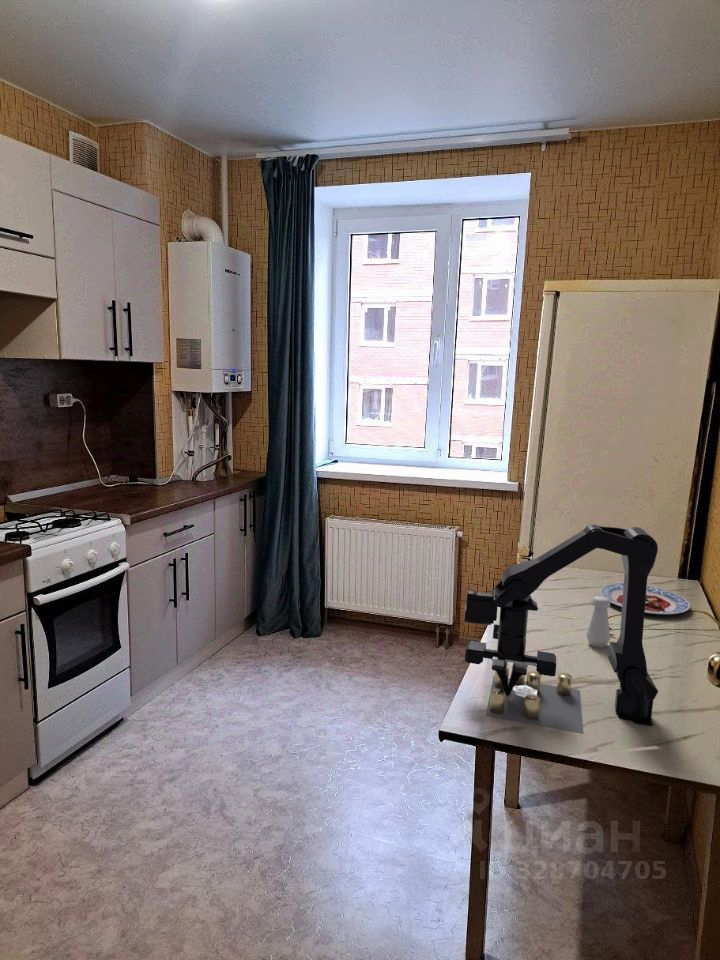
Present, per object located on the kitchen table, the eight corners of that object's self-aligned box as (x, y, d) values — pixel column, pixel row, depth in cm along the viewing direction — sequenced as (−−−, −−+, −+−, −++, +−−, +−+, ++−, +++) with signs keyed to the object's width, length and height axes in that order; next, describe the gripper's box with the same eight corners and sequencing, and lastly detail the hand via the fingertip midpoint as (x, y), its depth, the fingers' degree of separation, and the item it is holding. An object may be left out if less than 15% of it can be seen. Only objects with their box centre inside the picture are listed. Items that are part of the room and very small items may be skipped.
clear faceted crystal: (530, 694, 137) (531, 684, 137) (542, 706, 132) (542, 696, 132) (506, 697, 136) (507, 686, 136) (516, 709, 131) (517, 698, 131)
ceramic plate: (687, 627, 179) (688, 617, 179) (593, 608, 192) (593, 599, 191) (691, 600, 201) (692, 591, 201) (606, 584, 214) (607, 576, 213)
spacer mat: (579, 692, 140) (579, 690, 140) (583, 735, 123) (583, 733, 123) (493, 677, 145) (493, 676, 145) (485, 717, 128) (485, 715, 128)
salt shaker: (590, 637, 169) (594, 592, 167) (611, 644, 166) (616, 597, 163) (582, 644, 165) (587, 597, 163) (604, 651, 161) (609, 603, 159)
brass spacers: (570, 689, 140) (572, 673, 139) (572, 727, 125) (574, 709, 124) (495, 677, 145) (496, 661, 144) (488, 712, 130) (490, 694, 129)
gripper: (558, 619, 137) (552, 684, 140) (473, 607, 143) (468, 670, 145) (558, 639, 127) (552, 709, 130) (466, 625, 132) (462, 693, 135)
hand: (507, 694), depth 135 cm, fingers closed
